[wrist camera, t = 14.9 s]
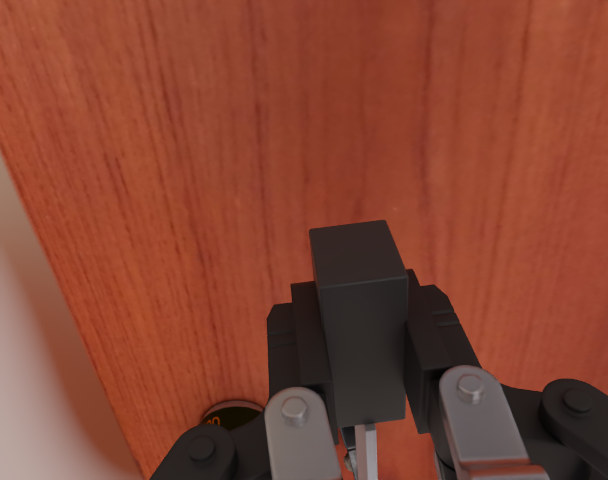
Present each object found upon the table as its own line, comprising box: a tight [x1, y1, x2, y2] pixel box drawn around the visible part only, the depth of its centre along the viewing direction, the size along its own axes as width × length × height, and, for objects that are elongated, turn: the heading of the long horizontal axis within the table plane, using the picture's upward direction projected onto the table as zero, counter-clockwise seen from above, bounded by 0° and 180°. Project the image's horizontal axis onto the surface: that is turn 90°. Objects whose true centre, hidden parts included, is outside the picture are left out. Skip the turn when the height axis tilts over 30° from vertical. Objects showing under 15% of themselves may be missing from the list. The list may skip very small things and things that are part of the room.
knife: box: [309, 220, 408, 480], centre depth 16 cm, size 14×2×3 cm, turn 6°
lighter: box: [340, 426, 358, 480], centre depth 36 cm, size 8×2×5 cm
